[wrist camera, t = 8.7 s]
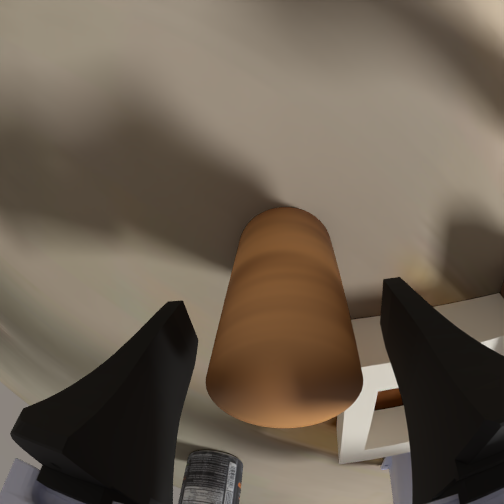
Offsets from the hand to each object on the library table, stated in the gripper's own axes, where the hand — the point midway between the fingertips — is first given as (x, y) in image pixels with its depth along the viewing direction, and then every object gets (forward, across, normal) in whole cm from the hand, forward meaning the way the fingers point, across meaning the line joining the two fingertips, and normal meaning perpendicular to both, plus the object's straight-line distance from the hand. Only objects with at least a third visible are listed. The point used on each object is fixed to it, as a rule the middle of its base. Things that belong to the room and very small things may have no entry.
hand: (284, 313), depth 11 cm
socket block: (+5, -8, +12) cm, 15 cm away
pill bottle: (+5, +10, +25) cm, 27 cm away
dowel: (+5, 0, 0) cm, 5 cm away
